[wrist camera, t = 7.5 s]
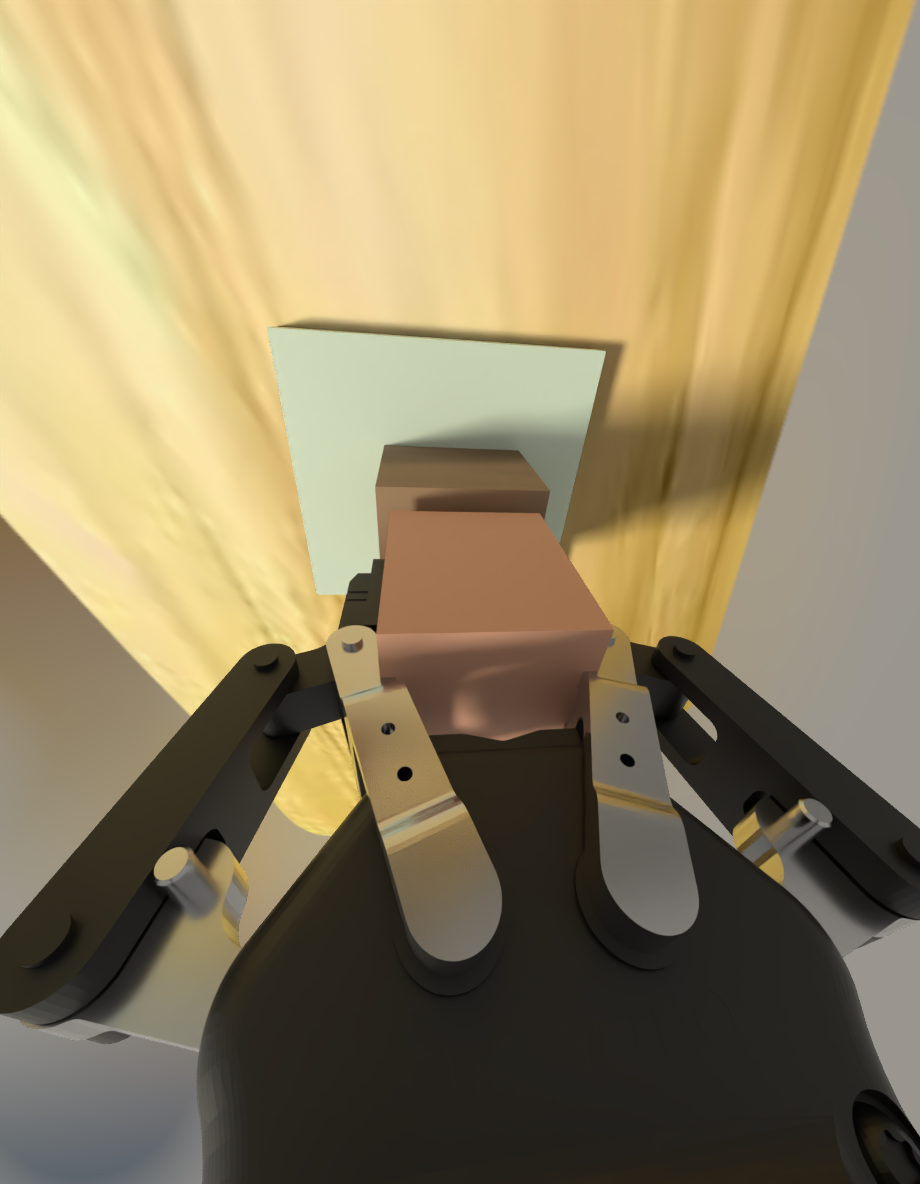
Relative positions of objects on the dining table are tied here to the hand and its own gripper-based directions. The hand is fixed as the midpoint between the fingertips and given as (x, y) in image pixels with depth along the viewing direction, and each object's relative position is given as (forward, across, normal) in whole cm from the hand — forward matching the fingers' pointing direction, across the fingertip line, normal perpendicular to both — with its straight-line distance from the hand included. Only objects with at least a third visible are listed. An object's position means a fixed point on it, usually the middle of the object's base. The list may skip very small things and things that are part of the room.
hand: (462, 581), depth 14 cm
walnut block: (+6, 0, 0) cm, 6 cm away
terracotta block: (0, 0, 0) cm, 0 cm away
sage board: (+7, 0, -1) cm, 8 cm away
